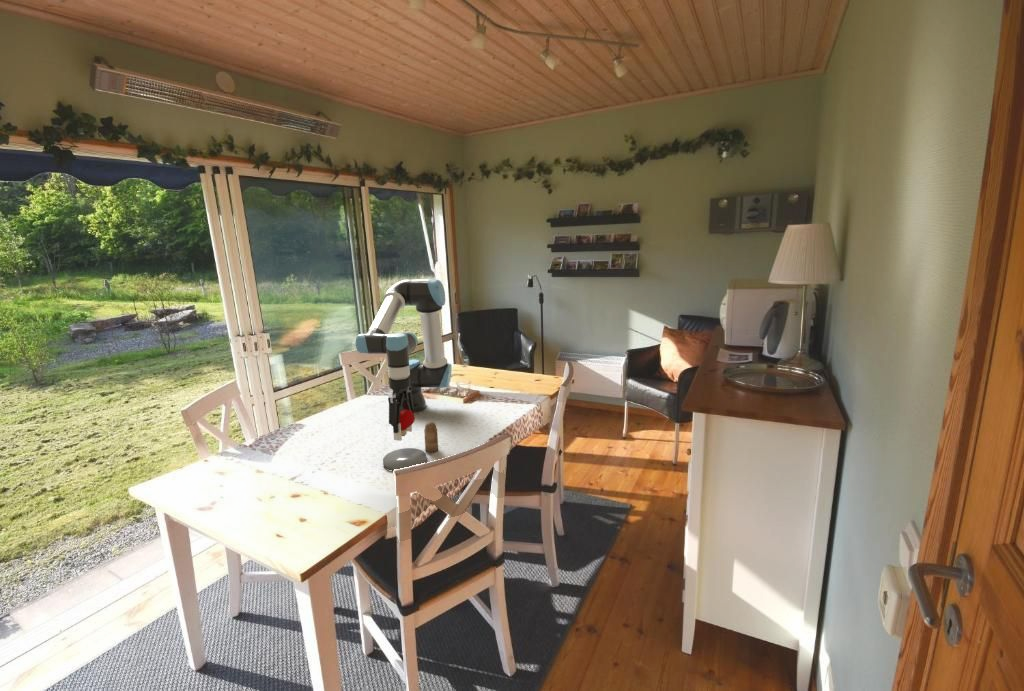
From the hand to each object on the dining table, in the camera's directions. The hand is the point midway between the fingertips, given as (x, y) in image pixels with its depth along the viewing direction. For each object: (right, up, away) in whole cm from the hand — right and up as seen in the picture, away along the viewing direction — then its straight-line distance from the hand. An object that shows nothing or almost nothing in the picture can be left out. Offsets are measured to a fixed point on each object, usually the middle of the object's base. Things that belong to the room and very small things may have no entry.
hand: (403, 435), depth 177 cm
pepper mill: (+9, -8, +11) cm, 17 cm away
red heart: (0, 0, 0) cm, 0 cm away
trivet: (0, -10, +3) cm, 11 cm away
